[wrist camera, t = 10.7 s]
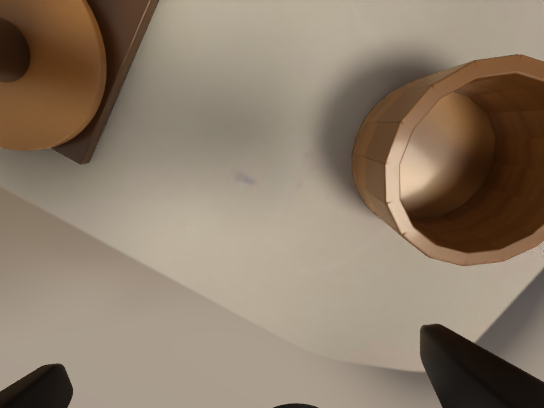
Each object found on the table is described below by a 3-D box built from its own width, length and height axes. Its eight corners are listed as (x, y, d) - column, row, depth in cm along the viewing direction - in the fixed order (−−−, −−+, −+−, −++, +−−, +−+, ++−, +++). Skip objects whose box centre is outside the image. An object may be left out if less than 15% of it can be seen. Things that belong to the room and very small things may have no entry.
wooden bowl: (493, 217, 19) (581, 253, 13) (355, 233, 19) (387, 275, 14) (505, 68, 16) (618, 39, 11) (347, 90, 17) (381, 73, 11)
